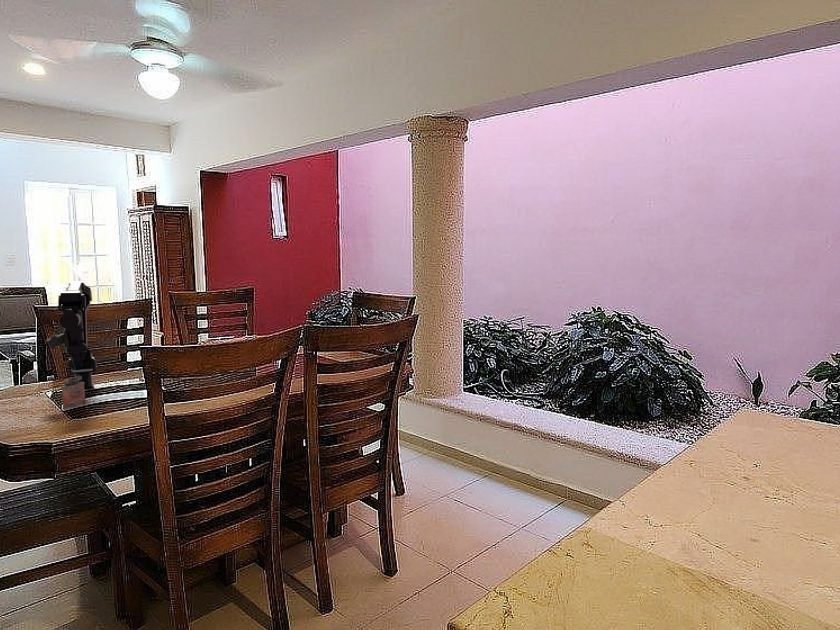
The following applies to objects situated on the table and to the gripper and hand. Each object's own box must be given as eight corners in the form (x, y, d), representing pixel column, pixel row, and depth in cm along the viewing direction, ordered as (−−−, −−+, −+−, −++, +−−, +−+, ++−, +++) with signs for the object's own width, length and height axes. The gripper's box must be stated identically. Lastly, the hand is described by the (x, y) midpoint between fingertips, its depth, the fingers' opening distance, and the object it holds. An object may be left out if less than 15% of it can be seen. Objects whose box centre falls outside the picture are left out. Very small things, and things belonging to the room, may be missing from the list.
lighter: (67, 408, 195) (65, 379, 194) (60, 407, 196) (58, 379, 195) (88, 402, 203) (86, 375, 202) (81, 402, 204) (78, 374, 203)
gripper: (46, 325, 209) (49, 367, 211) (47, 330, 194) (51, 375, 196) (81, 323, 216) (84, 363, 217) (85, 327, 200) (88, 371, 202)
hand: (76, 368), depth 208 cm, fingers open, 6 cm apart
